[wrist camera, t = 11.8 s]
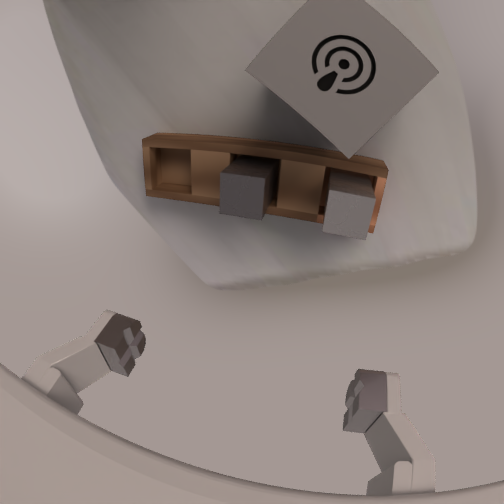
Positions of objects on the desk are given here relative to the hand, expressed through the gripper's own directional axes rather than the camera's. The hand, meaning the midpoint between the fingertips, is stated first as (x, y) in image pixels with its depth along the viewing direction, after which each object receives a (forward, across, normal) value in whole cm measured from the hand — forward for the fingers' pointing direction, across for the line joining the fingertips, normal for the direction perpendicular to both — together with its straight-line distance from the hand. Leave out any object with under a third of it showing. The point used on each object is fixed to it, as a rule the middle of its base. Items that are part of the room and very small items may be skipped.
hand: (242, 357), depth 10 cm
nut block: (+25, -4, +3) cm, 25 cm away
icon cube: (+26, -2, -10) cm, 28 cm away
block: (+25, +5, +3) cm, 25 cm away
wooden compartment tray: (+26, +5, +3) cm, 26 cm away
